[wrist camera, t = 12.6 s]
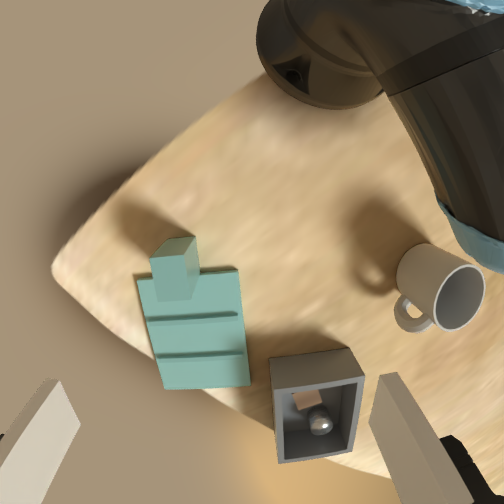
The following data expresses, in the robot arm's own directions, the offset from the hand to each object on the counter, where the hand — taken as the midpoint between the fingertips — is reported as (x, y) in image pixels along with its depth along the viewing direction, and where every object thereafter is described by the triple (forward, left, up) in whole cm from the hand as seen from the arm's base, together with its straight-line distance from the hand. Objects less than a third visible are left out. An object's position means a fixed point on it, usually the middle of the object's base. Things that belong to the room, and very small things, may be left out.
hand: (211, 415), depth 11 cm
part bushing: (+23, +9, -22) cm, 33 cm away
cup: (+5, +21, -23) cm, 32 cm away
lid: (+7, -5, -23) cm, 24 cm away
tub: (+20, +8, -23) cm, 31 cm away
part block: (+17, +7, -22) cm, 29 cm away
